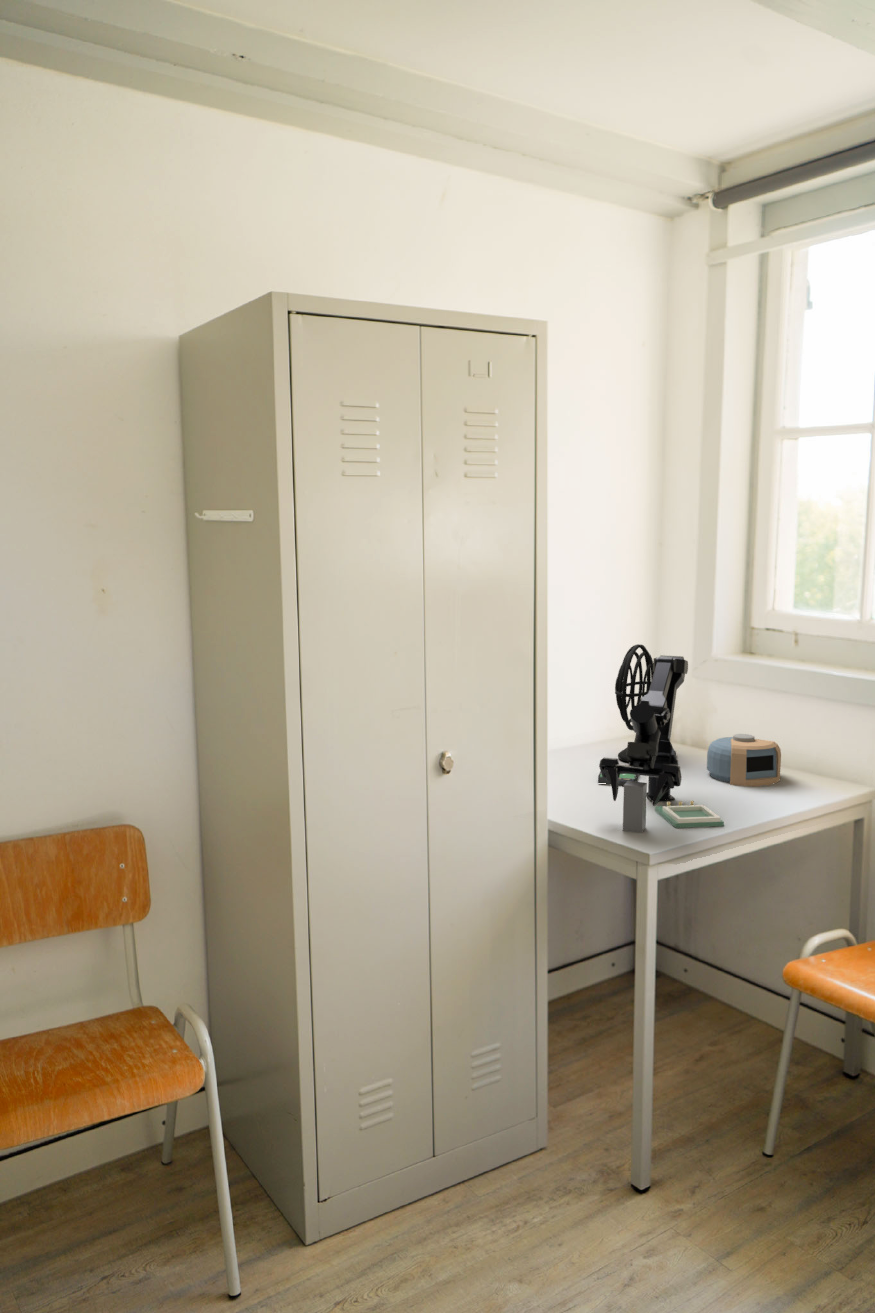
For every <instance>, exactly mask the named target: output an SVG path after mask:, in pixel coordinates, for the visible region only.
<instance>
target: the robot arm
mask: <svg viewBox="0 0 875 1313" xmlns="http://www.w3.org/2000/svg"><path fill="white" fill-rule="evenodd" d="M688 670H689V662H688V660H686V659H685V657H684V655H683V656H681V655H679V656H678V655H665V654H663V655H661V654H660V656H658V657H654V658H653V671H654V674H653V678H652V681H651V685H650V688H649V692H648V694H647V695H645V696H644V697H642V696H641V701H640V703H639V704H638V705H636V704H635V706H634V707H633V708H631V709H630V711H629V717H630V718H631V721H632V722H631V725H632V726H633V729H634V731H633V732H634V734H635V737H634V741H627V746H626V748H627V753H626V755H627V756H628V758H627V761H628V762H627V761H626V762H627V763H629V764H627V765H626V764H620V763H619V760H618V759H619V758H612V757H605V756H603V757H602V758H601V759H600V760H599V765H598V766H599V767H598V768H599V769H600V771H601V774H602V777H603V778H606V779H607V781H609V782H611V785H610V786H611V791H612V800H613V802H616V800H617V797H618V793H619V787H620V786H619V776H620V773H626V774H635V775H638V776H645V777H648V783H647V797H646V799H647V798H648V799H649V801H651V802H652V806H654V807H656V805H657V804H658V802H659V801H675V800H676V798H675V797H674V796H673V795H671V789H672V790H673V789H675V787H681V785H682V771H681V767H680V766H679V760H678V759H677V754H676V755H675V751H676V750H675V748H674V746H673V745H672V742H671V735H672V728H673V721H674V714H675V713H674V712H675V706H676V697H677V690H678V689H679V688H680V686H681V685H682V684H683V683H684V681H685V676H686V675H687V674H688ZM674 750H675V751H674Z"/></svg>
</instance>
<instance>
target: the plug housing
mask: <svg viewBox="0 0 875 1313" xmlns="http://www.w3.org/2000/svg"><path fill="white" fill-rule="evenodd" d="M647 792H648V783H647V782H642V781H636V782H634V781H627V782H626V783H625V784H624V786H623V804H622V805H623V808H622V812H623V813H622V832H623V831H624V832H625V831H626V832H631V833H639V834H642V833H643V832H644V831H645V830H646V828H647V825H646V822H647Z"/></svg>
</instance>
